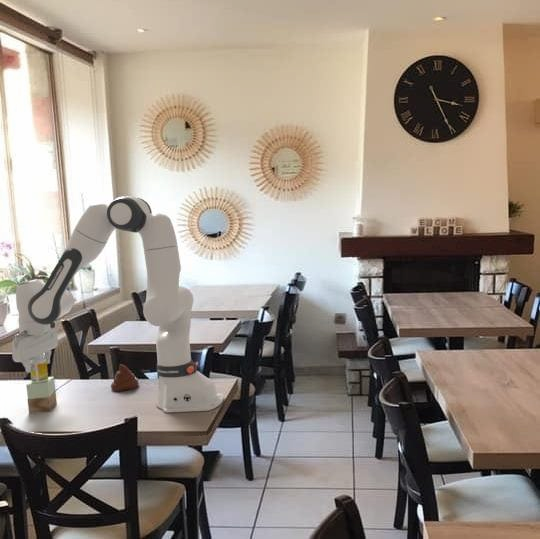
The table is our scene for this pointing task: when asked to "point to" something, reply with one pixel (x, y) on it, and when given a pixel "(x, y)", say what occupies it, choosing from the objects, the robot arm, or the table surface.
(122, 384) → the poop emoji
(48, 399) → the tower base
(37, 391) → the tower top
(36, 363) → the supplement bottle
